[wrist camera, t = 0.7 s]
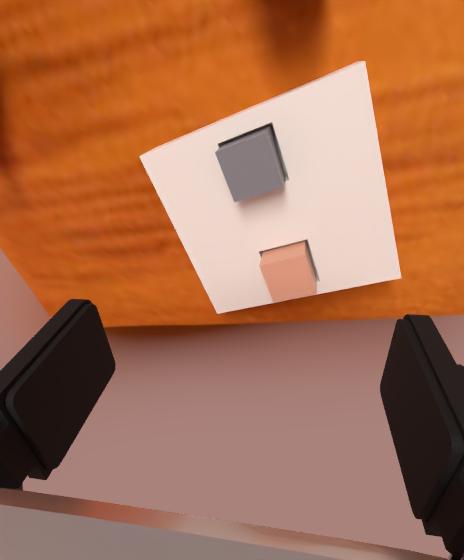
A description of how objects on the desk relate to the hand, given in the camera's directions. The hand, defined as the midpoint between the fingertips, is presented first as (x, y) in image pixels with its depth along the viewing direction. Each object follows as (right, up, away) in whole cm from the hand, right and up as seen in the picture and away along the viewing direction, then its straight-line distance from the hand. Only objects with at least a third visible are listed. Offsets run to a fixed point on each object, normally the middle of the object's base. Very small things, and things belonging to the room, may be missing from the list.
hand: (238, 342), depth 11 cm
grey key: (+2, +13, +19) cm, 23 cm away
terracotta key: (+6, +4, +24) cm, 25 cm away
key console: (+5, +10, +24) cm, 27 cm away
